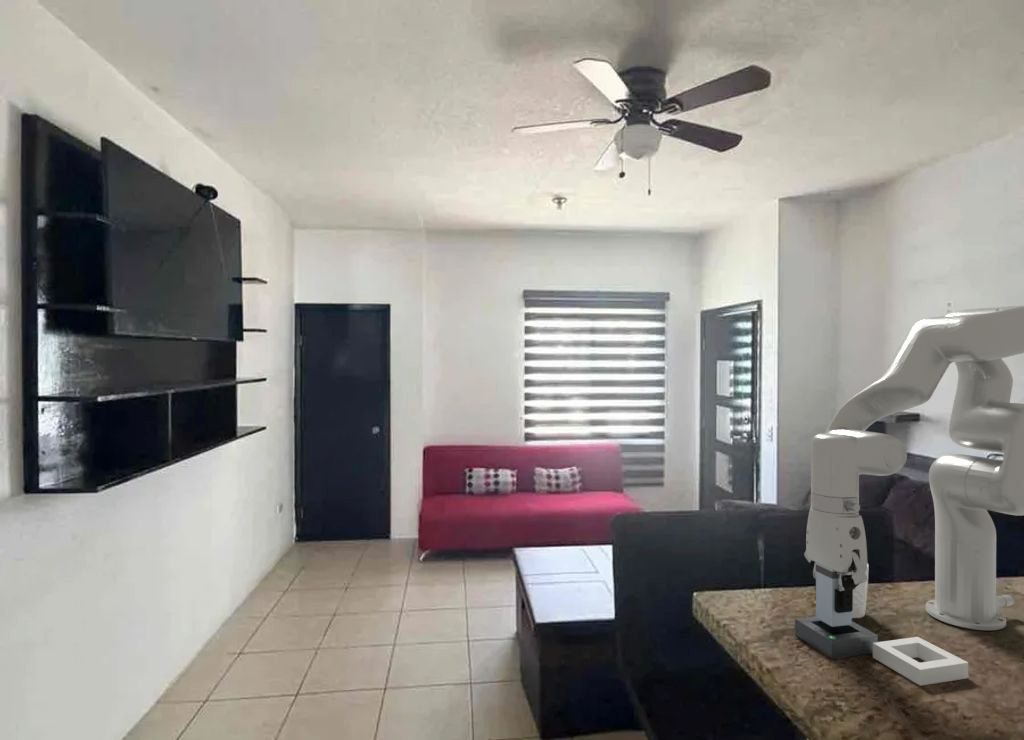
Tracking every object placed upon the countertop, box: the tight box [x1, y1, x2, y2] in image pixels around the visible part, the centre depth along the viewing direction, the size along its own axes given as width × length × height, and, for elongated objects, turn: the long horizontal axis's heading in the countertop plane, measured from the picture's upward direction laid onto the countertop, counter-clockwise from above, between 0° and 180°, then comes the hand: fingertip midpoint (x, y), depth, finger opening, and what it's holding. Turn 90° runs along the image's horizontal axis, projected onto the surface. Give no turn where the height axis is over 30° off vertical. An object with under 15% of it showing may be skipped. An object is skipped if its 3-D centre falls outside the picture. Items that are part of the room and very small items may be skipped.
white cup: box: [852, 562, 870, 619], centre depth 122 cm, size 8×8×10 cm
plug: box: [815, 562, 853, 627], centre depth 108 cm, size 4×4×10 cm
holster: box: [872, 636, 969, 686], centre depth 100 cm, size 9×9×2 cm
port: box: [794, 615, 879, 660], centre depth 109 cm, size 9×9×3 cm
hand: (833, 605), depth 108 cm, fingers closed on plug, 4 cm apart
